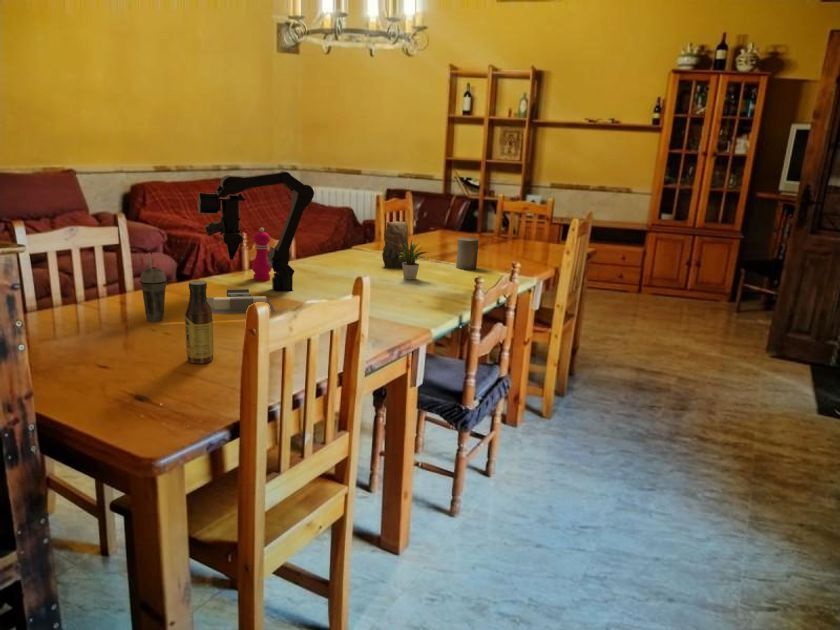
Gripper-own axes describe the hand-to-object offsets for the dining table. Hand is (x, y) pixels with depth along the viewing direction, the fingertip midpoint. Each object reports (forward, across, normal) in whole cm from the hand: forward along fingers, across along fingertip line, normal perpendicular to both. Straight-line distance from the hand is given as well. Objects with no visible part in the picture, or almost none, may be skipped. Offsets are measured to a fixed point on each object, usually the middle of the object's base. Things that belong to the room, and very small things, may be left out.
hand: (231, 259), depth 216 cm
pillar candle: (+12, -39, +108) cm, 115 cm away
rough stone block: (+12, -44, +76) cm, 89 cm away
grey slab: (+12, +18, +1) cm, 22 cm away
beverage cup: (+12, +30, -24) cm, 40 cm away
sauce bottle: (+12, +68, -13) cm, 70 cm away
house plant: (+12, -18, +72) cm, 75 cm away
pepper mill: (+12, -22, +13) cm, 28 cm away
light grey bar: (+11, +21, +1) cm, 24 cm away
